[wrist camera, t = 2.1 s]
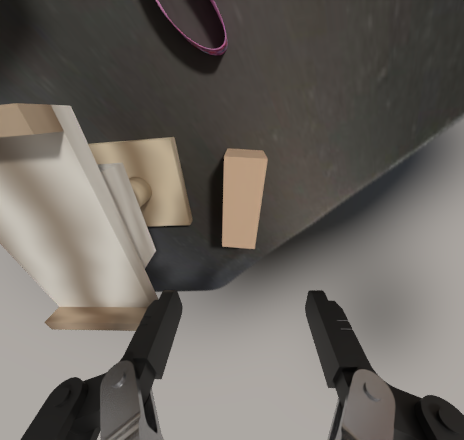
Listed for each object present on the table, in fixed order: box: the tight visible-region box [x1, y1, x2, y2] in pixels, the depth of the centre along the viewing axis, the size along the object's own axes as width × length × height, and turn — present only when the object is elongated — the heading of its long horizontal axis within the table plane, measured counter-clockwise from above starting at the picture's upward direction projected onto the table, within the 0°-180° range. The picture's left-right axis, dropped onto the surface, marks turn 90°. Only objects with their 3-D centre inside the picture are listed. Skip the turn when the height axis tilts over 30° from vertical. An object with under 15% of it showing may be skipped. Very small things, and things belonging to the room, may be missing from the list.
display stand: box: [0, 103, 192, 331], centre depth 19 cm, size 12×18×15 cm, turn 4°
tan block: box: [222, 149, 268, 249], centre depth 24 cm, size 4×12×5 cm, turn 177°
